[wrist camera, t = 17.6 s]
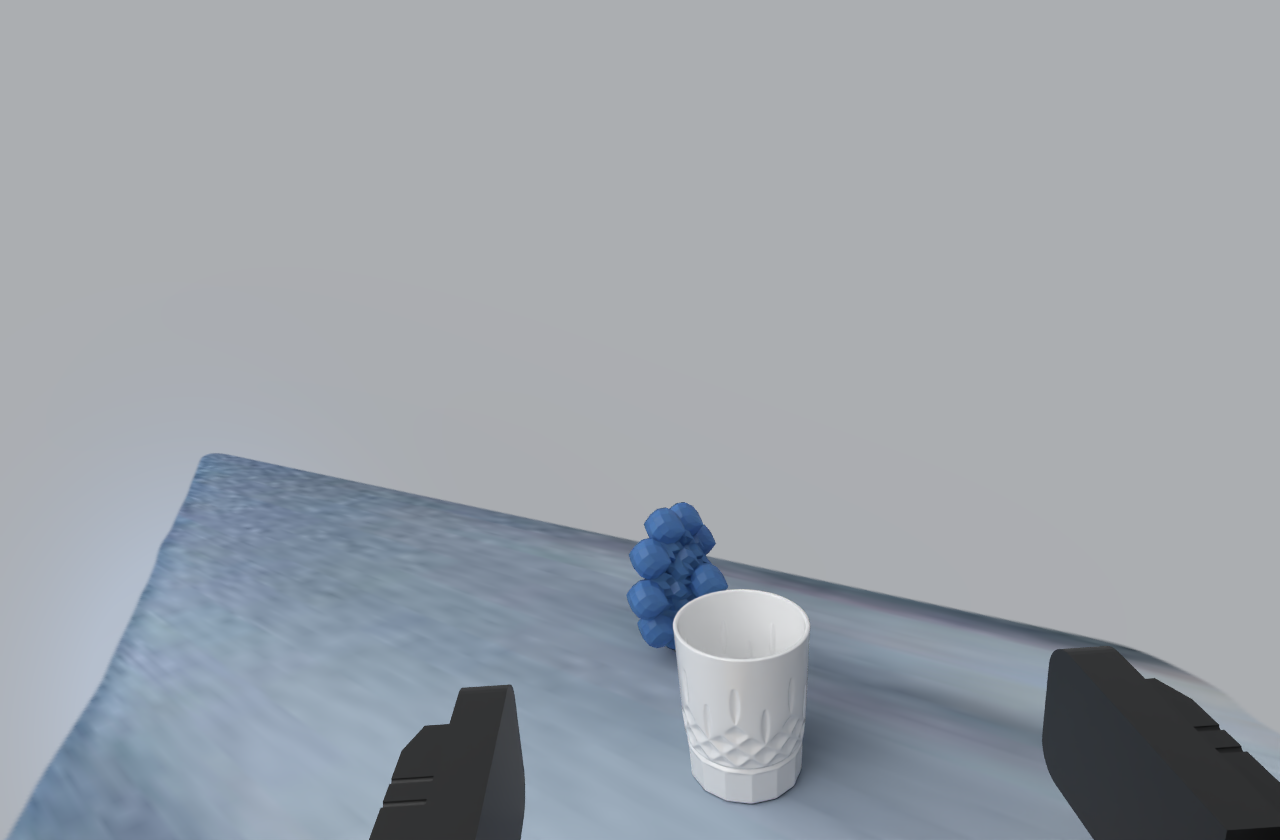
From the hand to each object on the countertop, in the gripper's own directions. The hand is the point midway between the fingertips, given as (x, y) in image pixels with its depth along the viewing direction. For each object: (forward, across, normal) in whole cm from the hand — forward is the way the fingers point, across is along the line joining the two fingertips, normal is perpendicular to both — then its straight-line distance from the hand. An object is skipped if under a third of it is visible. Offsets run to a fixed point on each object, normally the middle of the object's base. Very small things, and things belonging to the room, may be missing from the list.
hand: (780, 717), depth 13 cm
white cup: (+32, -3, +28) cm, 43 cm away
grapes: (+46, -1, +28) cm, 54 cm away
